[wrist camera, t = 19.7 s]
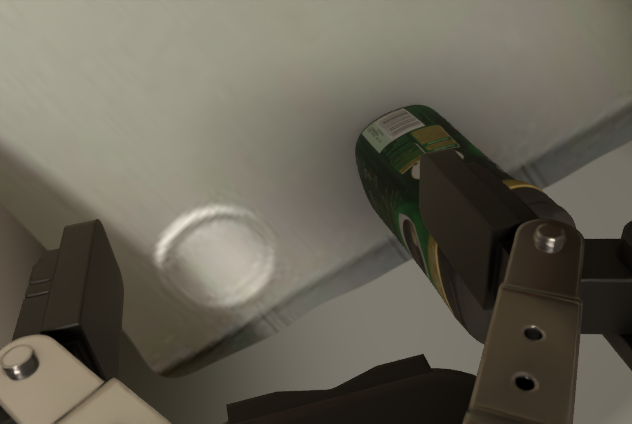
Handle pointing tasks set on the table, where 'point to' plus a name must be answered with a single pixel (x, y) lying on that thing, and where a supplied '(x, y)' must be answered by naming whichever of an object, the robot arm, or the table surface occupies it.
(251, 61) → the table surface
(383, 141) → the coffee jar
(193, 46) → the table surface
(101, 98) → the table surface
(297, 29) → the table surface
